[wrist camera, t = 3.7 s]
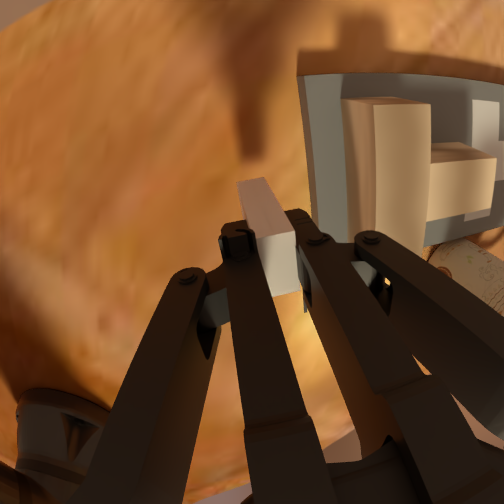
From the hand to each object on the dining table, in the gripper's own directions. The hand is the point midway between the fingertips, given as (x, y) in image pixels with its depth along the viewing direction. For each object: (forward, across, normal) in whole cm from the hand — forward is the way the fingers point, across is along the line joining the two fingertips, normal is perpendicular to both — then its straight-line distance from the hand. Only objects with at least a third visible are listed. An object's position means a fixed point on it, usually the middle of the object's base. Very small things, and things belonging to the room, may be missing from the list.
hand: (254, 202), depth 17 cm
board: (+3, +16, 0) cm, 17 cm away
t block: (+1, +11, 0) cm, 11 cm away
